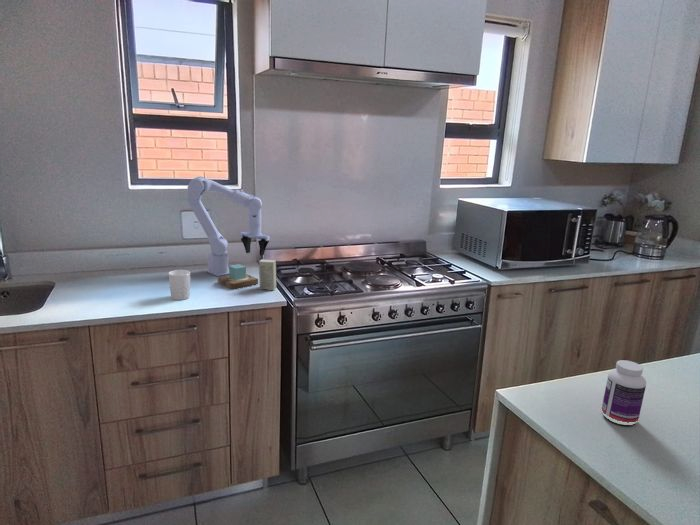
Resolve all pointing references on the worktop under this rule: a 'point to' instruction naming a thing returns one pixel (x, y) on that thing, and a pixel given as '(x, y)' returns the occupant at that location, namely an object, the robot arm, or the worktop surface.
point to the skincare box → (267, 274)
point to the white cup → (179, 284)
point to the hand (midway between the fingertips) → (254, 254)
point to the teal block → (237, 272)
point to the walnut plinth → (237, 282)
